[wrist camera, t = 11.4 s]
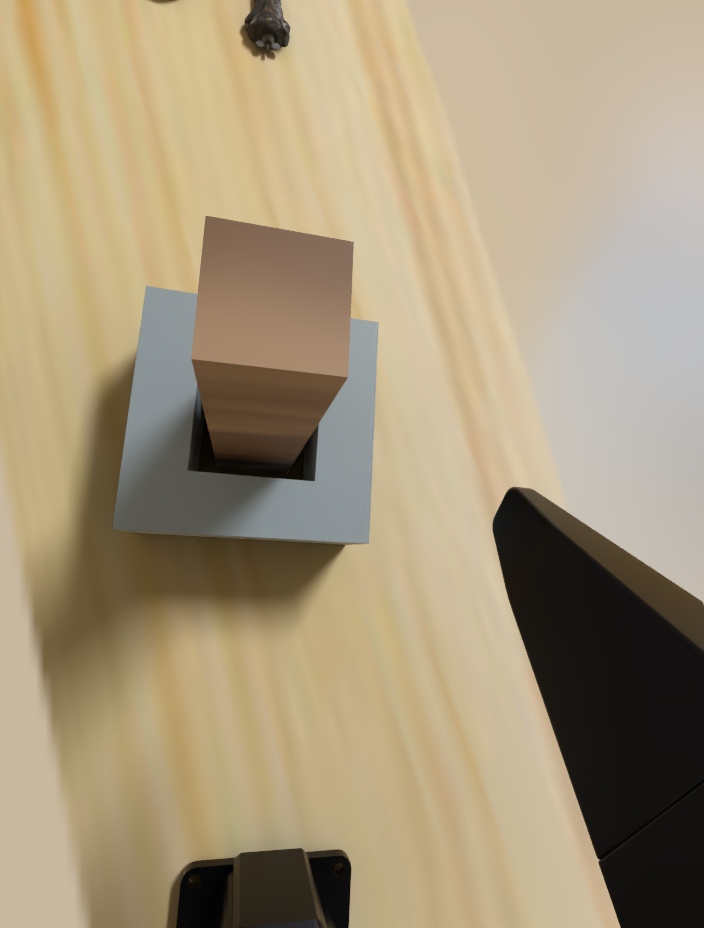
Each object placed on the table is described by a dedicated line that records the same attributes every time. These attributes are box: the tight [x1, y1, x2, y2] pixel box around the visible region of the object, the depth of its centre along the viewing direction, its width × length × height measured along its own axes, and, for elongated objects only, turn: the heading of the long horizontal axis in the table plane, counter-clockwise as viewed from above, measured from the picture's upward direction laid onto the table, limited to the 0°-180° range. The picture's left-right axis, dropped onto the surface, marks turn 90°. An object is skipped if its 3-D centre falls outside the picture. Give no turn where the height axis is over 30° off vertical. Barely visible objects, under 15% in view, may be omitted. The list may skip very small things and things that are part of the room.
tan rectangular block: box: [191, 216, 353, 474], centre depth 16 cm, size 3×3×13 cm
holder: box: [112, 286, 378, 545], centre depth 20 cm, size 9×9×4 cm
